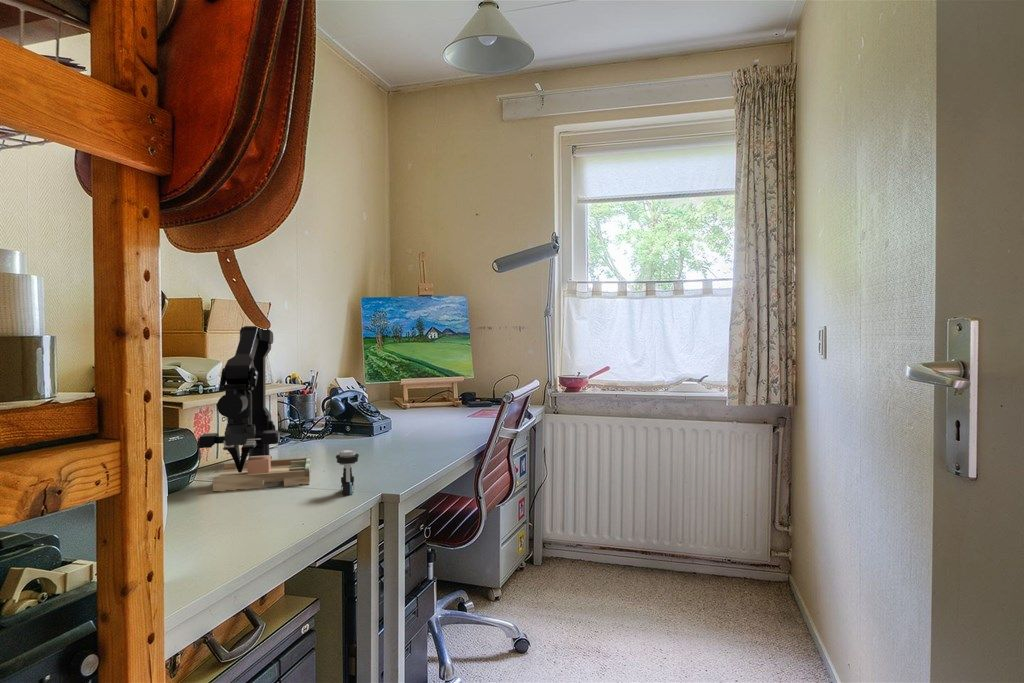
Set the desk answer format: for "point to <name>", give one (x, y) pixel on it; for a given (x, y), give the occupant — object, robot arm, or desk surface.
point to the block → (259, 464)
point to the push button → (347, 469)
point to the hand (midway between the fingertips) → (240, 472)
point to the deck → (265, 475)
